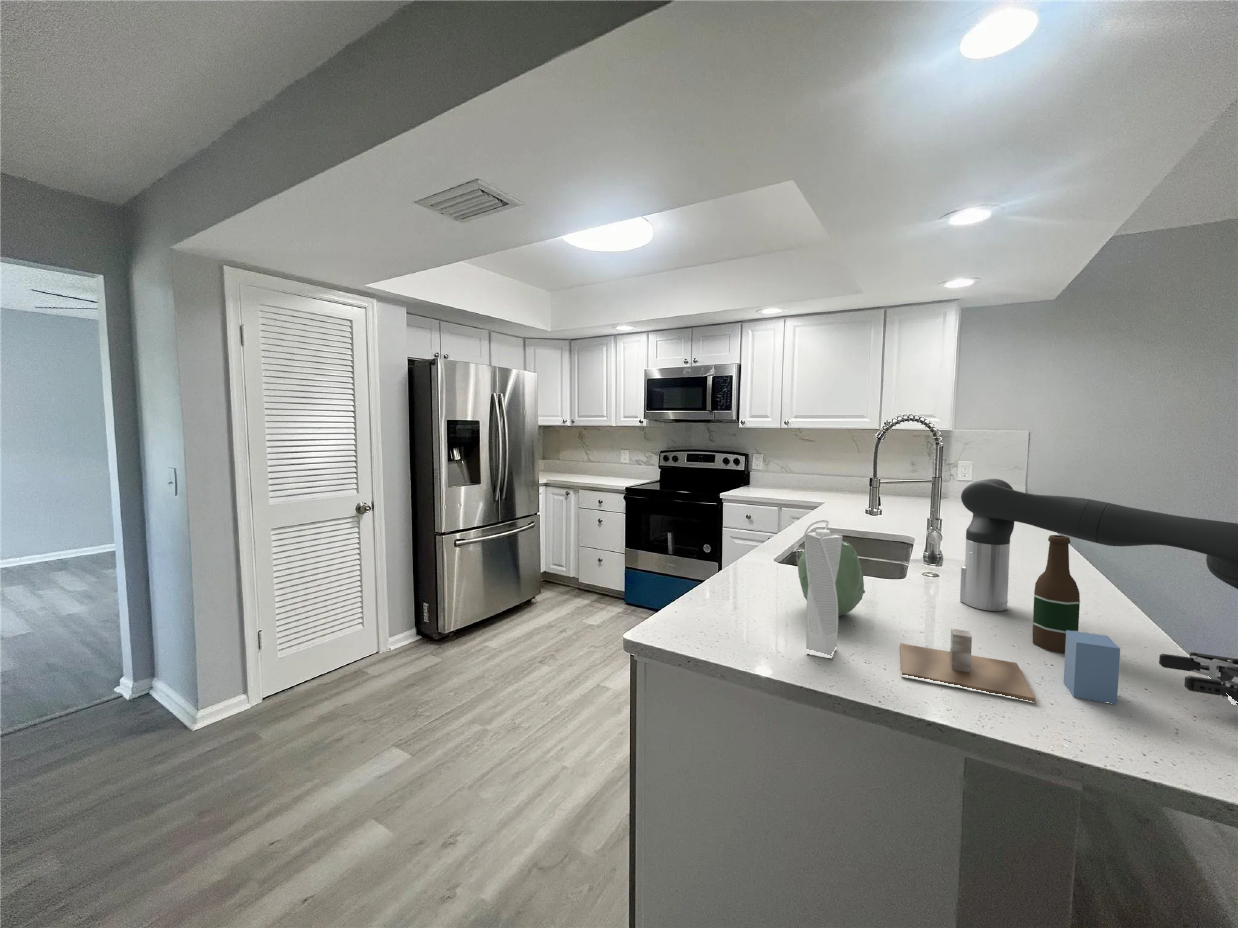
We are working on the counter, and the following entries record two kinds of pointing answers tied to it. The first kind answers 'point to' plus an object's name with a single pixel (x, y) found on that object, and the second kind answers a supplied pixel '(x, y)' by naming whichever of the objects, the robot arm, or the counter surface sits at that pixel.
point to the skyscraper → (822, 588)
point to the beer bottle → (1055, 599)
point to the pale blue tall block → (1091, 666)
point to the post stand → (965, 668)
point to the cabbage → (841, 579)
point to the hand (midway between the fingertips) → (1172, 670)
